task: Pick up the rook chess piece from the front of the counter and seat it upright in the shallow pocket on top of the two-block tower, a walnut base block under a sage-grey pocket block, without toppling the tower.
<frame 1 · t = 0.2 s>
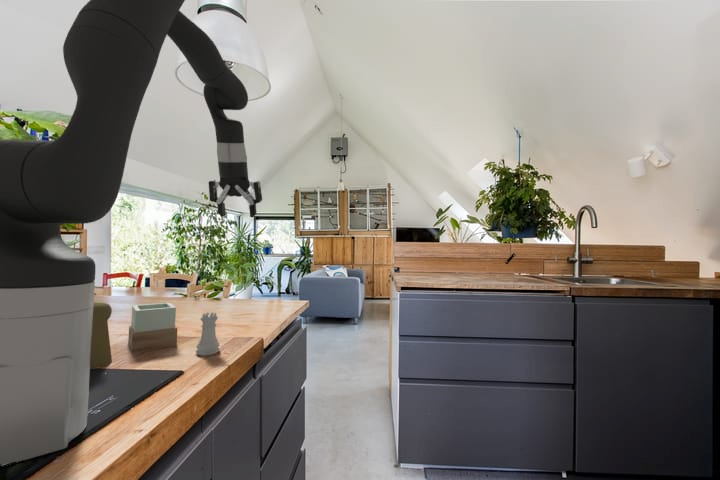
hand: (238, 216, 91), 31 cm above the countertop, tool tilted 20°, fingers open, 8 cm apart
rook chess piece: (207, 353, 64), on the countertop
olive tapered piece: (90, 365, 56), on the countertop
walnut base block: (152, 345, 68), on the countertop, touching sage top block
sage top block: (152, 326, 68), point 4 cm above the countertop, touching walnut base block
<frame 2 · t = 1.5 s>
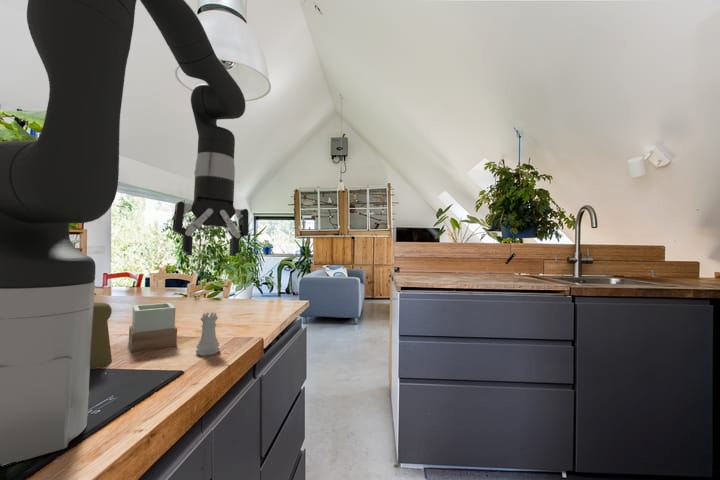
hand: (211, 255, 64), 20 cm above the countertop, tool pointing down, fingers open, 8 cm apart
nothing on the countertop moved.
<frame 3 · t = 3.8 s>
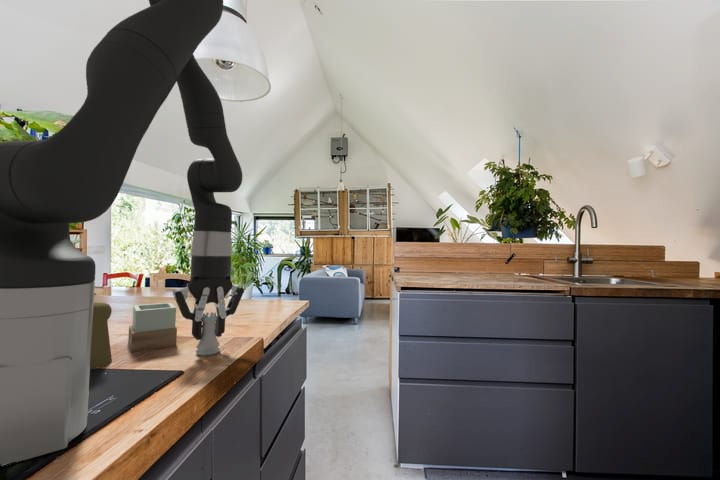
hand: (208, 337, 64), 3 cm above the countertop, tool pointing down, fingers closed on rook chess piece, 3 cm apart
rook chess piece: (207, 353, 64), on the countertop, touching gripper
everything else where it was.
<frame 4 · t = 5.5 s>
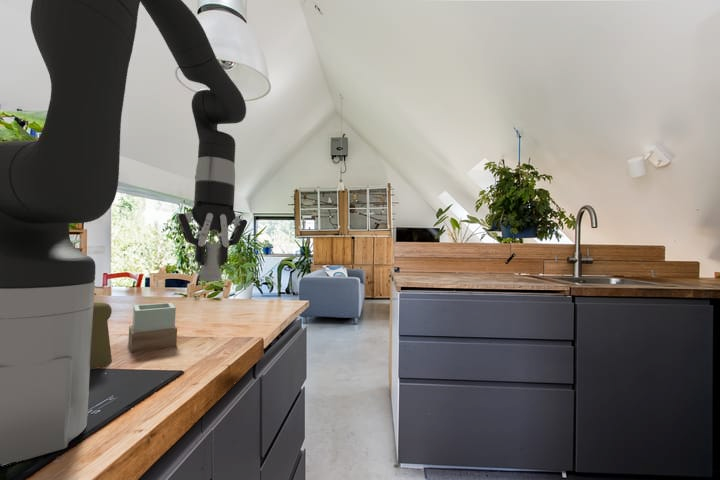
hand: (211, 264, 64), 18 cm above the countertop, tool pointing down, fingers closed on rook chess piece, 3 cm apart
rook chess piece: (210, 281, 64), point 15 cm above the countertop, touching gripper
everything else where it was.
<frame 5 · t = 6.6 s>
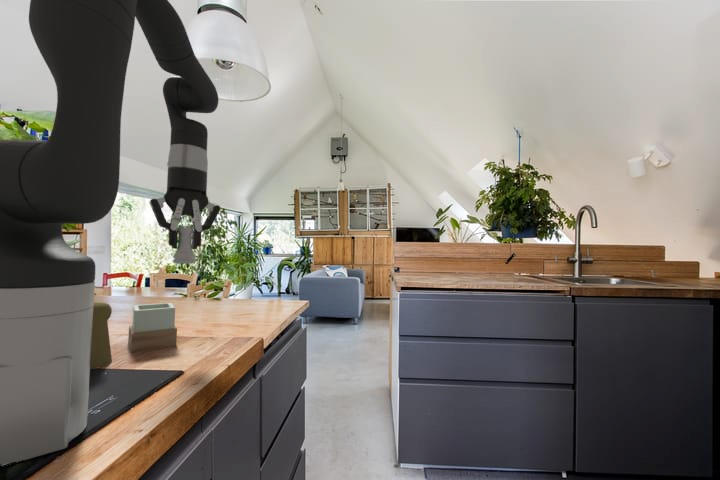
hand: (184, 248, 67), 21 cm above the countertop, tool pointing down, fingers closed on rook chess piece, 3 cm apart
rook chess piece: (184, 264, 67), point 18 cm above the countertop, touching gripper
everything else where it was.
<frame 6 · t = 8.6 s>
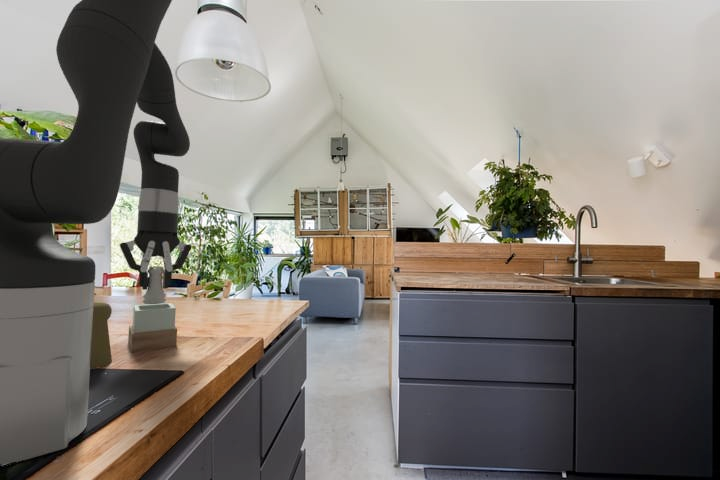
hand: (155, 288, 69), 12 cm above the countertop, tool pointing down, fingers closed on rook chess piece, 3 cm apart
rook chess piece: (154, 303, 68), point 9 cm above the countertop, touching gripper
walnut base block: (152, 345, 68), on the countertop
sage top block: (153, 327, 68), point 4 cm above the countertop
everything else where it was.
when the fingers open (10 cm above the countertop, at t = 10.5 s): rook chess piece stays where it is, resting on sage top block.
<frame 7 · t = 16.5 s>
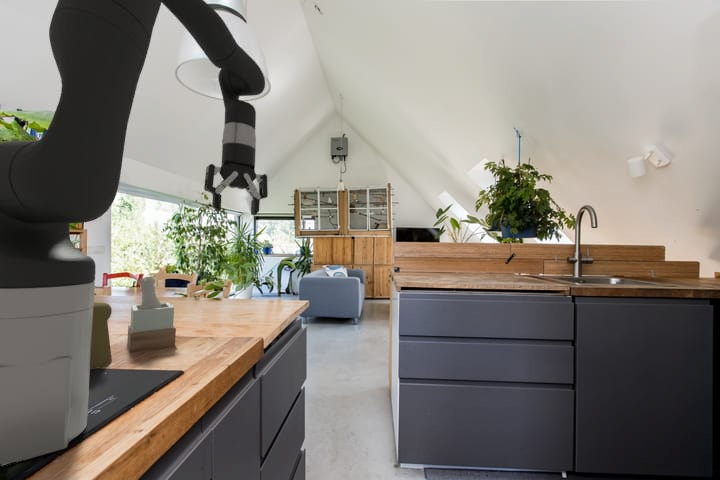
hand: (236, 213, 74), 30 cm above the countertop, tool pointing down, fingers open, 8 cm apart
rook chess piece: (152, 314, 68), point 6 cm above the countertop, touching sage top block
walnut base block: (150, 345, 68), on the countertop, touching sage top block
sage top block: (151, 326, 68), point 4 cm above the countertop, touching rook chess piece, walnut base block
everything else where it was.
at the end: rook chess piece 0.1 cm off-centre on the sage top block, point 2.7 cm above the sage top block's base; rook chess piece tilted 11°; sage top block 0.0 cm off-centre on the walnut base block, point 4.0 cm above the walnut base block's base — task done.
